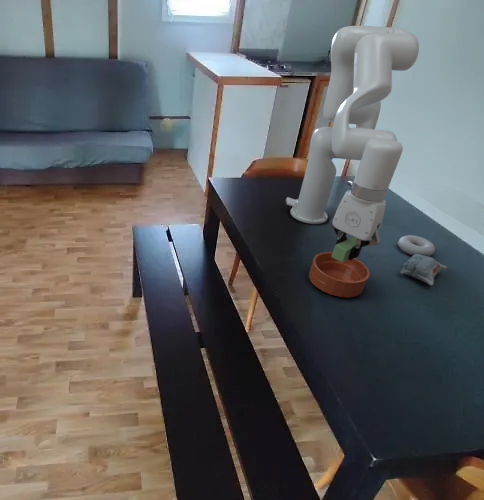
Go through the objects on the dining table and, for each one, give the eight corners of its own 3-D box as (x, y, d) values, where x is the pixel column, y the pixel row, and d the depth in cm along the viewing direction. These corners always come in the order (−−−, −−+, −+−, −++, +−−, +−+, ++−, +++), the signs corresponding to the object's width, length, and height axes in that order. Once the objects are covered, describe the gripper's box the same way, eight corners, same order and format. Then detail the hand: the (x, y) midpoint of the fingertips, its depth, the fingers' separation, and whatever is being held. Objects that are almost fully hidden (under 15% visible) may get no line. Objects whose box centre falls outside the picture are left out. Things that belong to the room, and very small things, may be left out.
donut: (402, 257, 125) (437, 261, 123) (406, 248, 123) (442, 251, 121) (392, 240, 133) (425, 244, 131) (396, 231, 131) (429, 235, 130)
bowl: (300, 284, 112) (305, 267, 109) (318, 261, 121) (323, 246, 118) (354, 306, 104) (361, 289, 101) (368, 281, 114) (375, 265, 111)
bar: (342, 262, 104) (346, 250, 102) (331, 256, 106) (335, 245, 105) (359, 253, 108) (363, 241, 107) (347, 247, 111) (352, 236, 109)
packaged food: (443, 274, 118) (450, 260, 115) (428, 290, 111) (436, 276, 108) (410, 261, 123) (417, 247, 120) (395, 276, 116) (401, 262, 114)
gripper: (328, 182, 101) (310, 245, 111) (394, 208, 90) (367, 275, 100) (345, 176, 105) (326, 237, 115) (410, 200, 94) (382, 265, 104)
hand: (345, 254), depth 107 cm, fingers closed on bar, 3 cm apart
